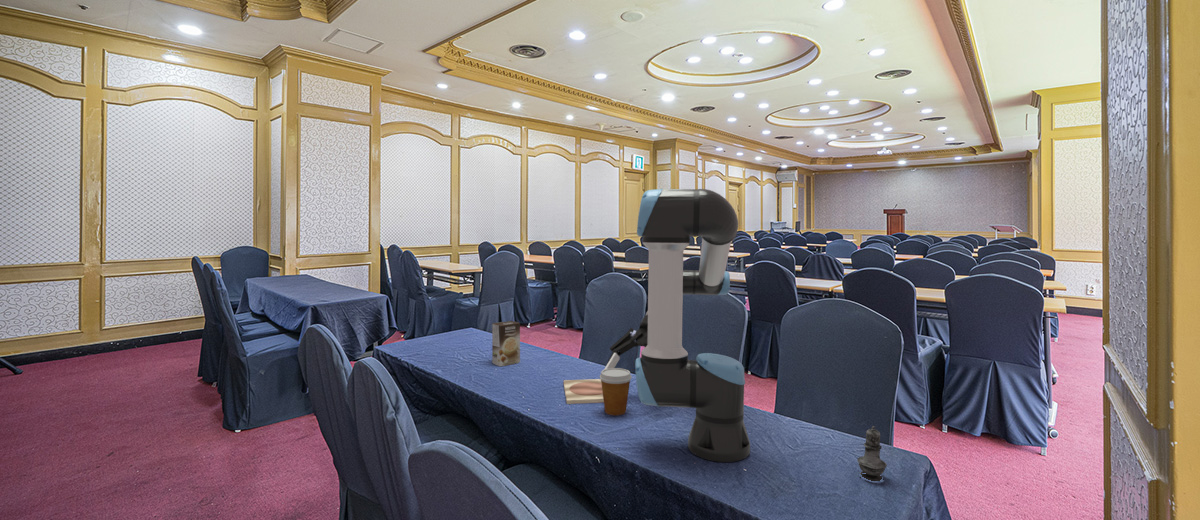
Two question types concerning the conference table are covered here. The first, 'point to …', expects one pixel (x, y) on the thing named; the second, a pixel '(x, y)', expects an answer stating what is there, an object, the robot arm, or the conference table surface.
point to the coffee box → (505, 343)
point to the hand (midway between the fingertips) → (622, 377)
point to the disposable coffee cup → (615, 390)
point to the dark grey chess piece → (872, 457)
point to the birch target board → (583, 391)
